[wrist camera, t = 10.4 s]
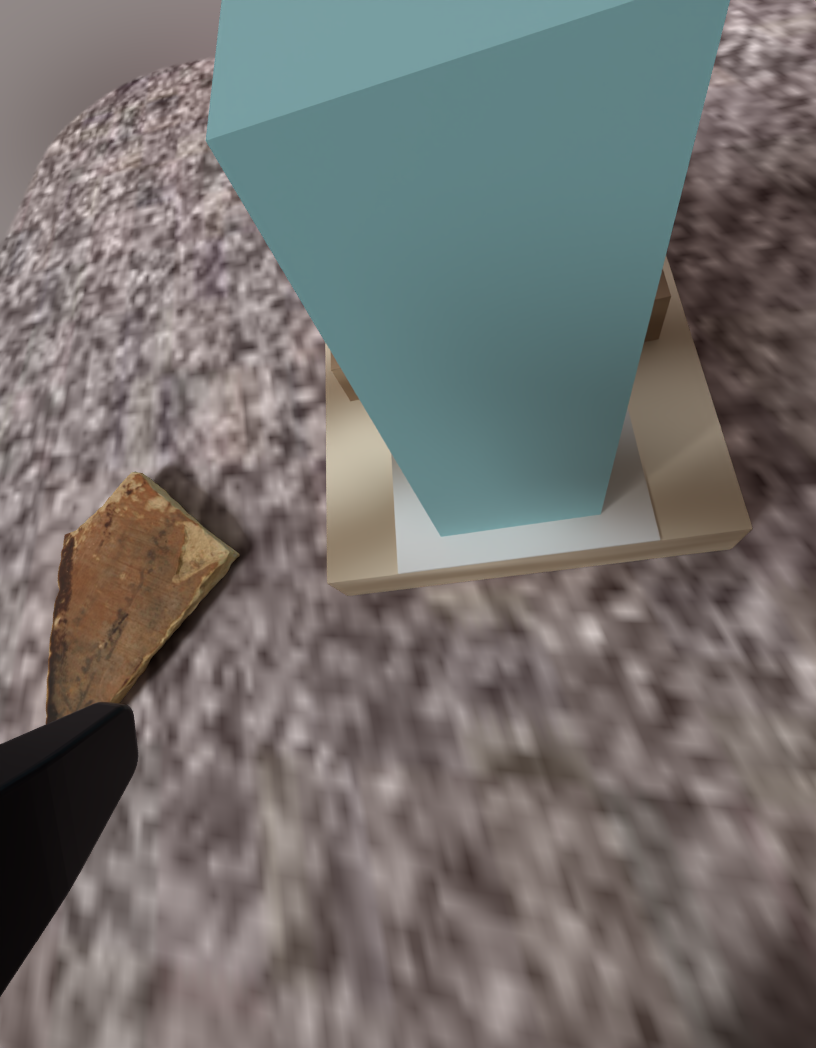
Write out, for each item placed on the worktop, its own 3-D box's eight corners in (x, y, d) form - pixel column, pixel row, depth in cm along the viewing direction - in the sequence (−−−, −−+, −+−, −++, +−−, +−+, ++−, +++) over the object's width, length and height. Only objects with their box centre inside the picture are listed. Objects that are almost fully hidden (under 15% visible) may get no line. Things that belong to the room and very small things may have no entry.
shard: (72, 787, 20) (30, 793, 19) (-15, 663, 23) (-58, 658, 22) (254, 562, 22) (230, 549, 20) (149, 472, 25) (121, 455, 23)
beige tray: (730, 548, 17) (780, 502, 13) (347, 595, 20) (301, 568, 16) (599, 105, 25) (607, 0, 21) (338, 181, 28) (307, 99, 24)
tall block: (600, 514, 16) (738, -35, 4) (440, 536, 17) (205, 140, 5) (572, 378, 18) (617, -269, 6) (429, 406, 19) (233, -105, 7)
